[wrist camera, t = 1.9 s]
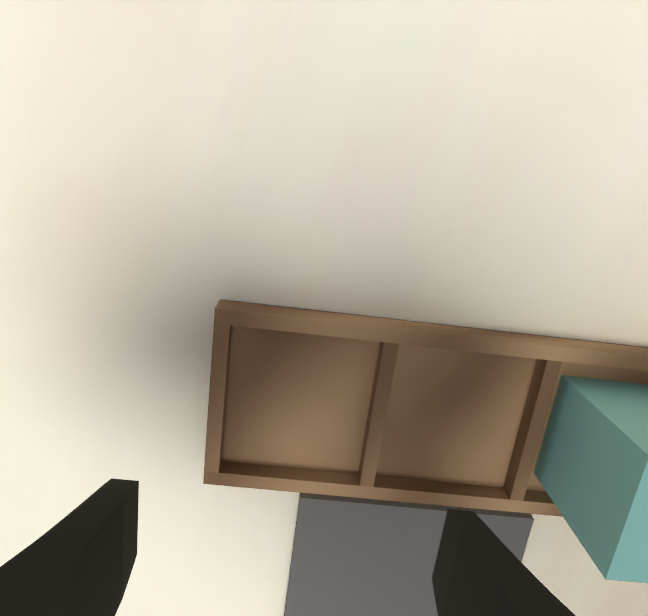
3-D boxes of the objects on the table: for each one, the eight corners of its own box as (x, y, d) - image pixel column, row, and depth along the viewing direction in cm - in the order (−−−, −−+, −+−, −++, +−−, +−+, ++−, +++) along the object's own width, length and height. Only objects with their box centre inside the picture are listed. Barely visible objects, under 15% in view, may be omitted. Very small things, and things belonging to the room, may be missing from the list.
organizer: (702, 354, 19) (724, 365, 18) (647, 507, 21) (663, 525, 20) (220, 299, 18) (215, 308, 17) (208, 467, 20) (203, 483, 19)
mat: (530, 513, 20) (533, 518, 20) (481, 684, 23) (483, 691, 23) (300, 492, 20) (300, 497, 20) (276, 669, 23) (276, 676, 22)
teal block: (670, 386, 19) (794, 470, 14) (636, 482, 20) (739, 590, 15) (561, 375, 18) (649, 456, 14) (533, 472, 20) (605, 579, 15)
